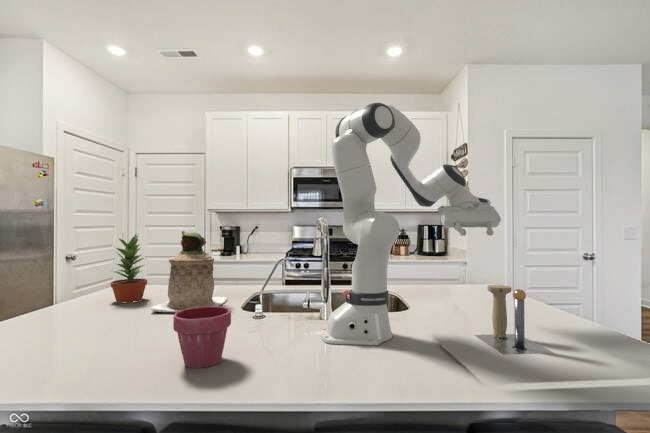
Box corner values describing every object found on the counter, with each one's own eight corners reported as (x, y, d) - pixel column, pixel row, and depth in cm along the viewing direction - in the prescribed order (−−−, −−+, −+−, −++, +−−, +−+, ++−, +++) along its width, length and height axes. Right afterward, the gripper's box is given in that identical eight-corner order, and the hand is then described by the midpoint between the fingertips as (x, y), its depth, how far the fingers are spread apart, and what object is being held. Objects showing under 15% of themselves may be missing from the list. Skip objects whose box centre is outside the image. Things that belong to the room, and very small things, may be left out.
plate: (503, 359, 96) (503, 354, 96) (473, 339, 112) (473, 334, 112) (554, 357, 97) (554, 352, 97) (517, 337, 113) (517, 333, 113)
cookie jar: (211, 314, 142) (210, 231, 142) (147, 314, 142) (147, 231, 142) (228, 300, 166) (228, 229, 167) (175, 300, 167) (174, 229, 167)
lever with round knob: (517, 350, 99) (517, 290, 99) (510, 346, 102) (510, 288, 102) (528, 350, 99) (528, 290, 99) (521, 346, 102) (521, 288, 102)
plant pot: (187, 351, 102) (187, 305, 102) (237, 351, 102) (237, 305, 102) (163, 372, 88) (163, 319, 88) (221, 373, 88) (221, 319, 88)
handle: (513, 340, 107) (513, 288, 107) (489, 338, 108) (489, 287, 108) (509, 335, 111) (508, 285, 112) (486, 333, 113) (486, 284, 113)
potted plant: (101, 304, 159) (101, 234, 159) (126, 296, 174) (126, 233, 174) (132, 305, 156) (132, 235, 156) (154, 297, 171) (154, 233, 171)
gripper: (438, 199, 131) (450, 228, 121) (493, 199, 132) (509, 227, 122) (434, 212, 135) (444, 240, 125) (487, 212, 137) (502, 240, 127)
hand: (477, 234), depth 124 cm, fingers open, 8 cm apart
